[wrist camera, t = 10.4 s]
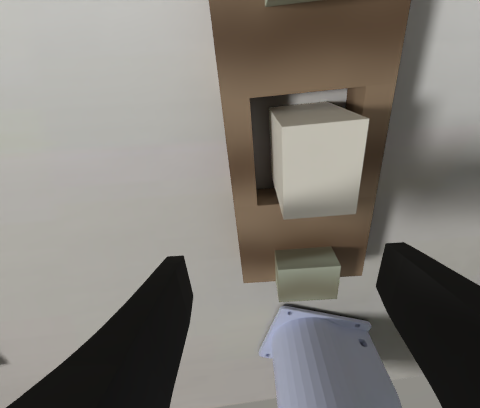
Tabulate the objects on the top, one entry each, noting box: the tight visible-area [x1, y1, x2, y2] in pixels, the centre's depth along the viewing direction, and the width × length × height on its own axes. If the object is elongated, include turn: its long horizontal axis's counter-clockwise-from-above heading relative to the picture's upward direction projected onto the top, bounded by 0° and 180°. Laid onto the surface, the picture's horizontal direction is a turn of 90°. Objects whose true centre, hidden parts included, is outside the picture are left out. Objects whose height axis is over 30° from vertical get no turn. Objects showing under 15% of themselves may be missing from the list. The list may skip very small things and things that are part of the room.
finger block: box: [269, 101, 369, 220], centre depth 14 cm, size 4×5×6 cm
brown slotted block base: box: [209, 0, 411, 302], centre depth 15 cm, size 20×9×4 cm, turn 5°
